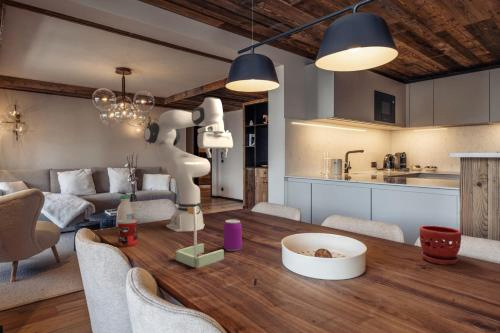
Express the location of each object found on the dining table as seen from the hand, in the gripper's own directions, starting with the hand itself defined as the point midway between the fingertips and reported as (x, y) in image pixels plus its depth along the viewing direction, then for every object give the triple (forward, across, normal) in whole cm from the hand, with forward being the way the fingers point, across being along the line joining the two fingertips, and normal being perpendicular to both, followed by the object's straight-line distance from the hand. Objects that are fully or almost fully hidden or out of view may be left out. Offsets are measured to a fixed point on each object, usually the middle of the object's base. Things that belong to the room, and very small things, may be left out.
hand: (217, 157), depth 150 cm
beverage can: (+41, +10, +17) cm, 45 cm away
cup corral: (+41, +28, +17) cm, 52 cm away
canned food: (+37, +37, -23) cm, 57 cm away
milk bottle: (+35, +29, -42) cm, 62 cm away
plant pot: (+48, -31, +85) cm, 102 cm away
